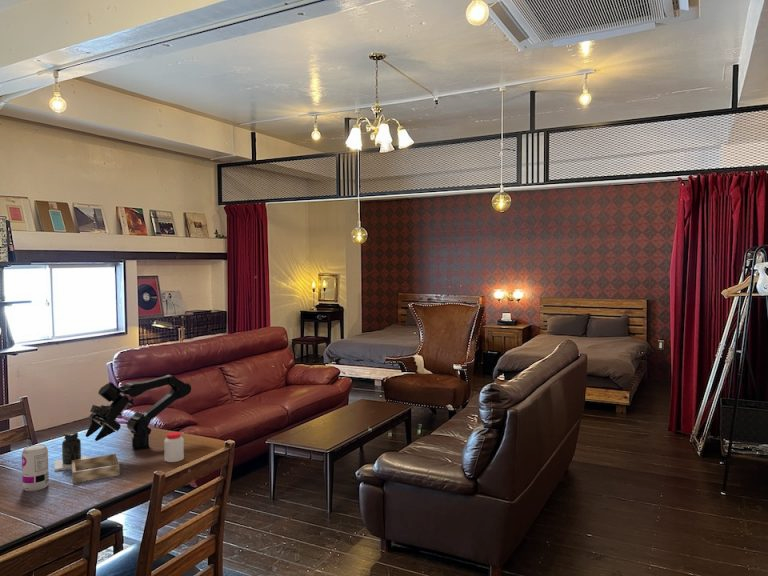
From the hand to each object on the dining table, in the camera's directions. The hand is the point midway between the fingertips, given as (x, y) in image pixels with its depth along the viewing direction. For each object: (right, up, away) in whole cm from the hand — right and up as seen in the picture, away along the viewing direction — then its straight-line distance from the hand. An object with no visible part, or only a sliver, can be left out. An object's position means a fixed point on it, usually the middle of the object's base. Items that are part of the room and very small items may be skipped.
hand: (90, 438), depth 241 cm
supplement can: (-4, -10, -31) cm, 33 cm away
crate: (+10, -9, -16) cm, 21 cm away
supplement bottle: (-5, -8, -6) cm, 11 cm away
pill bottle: (+35, -9, 0) cm, 36 cm away
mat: (-5, -9, -6) cm, 12 cm away
